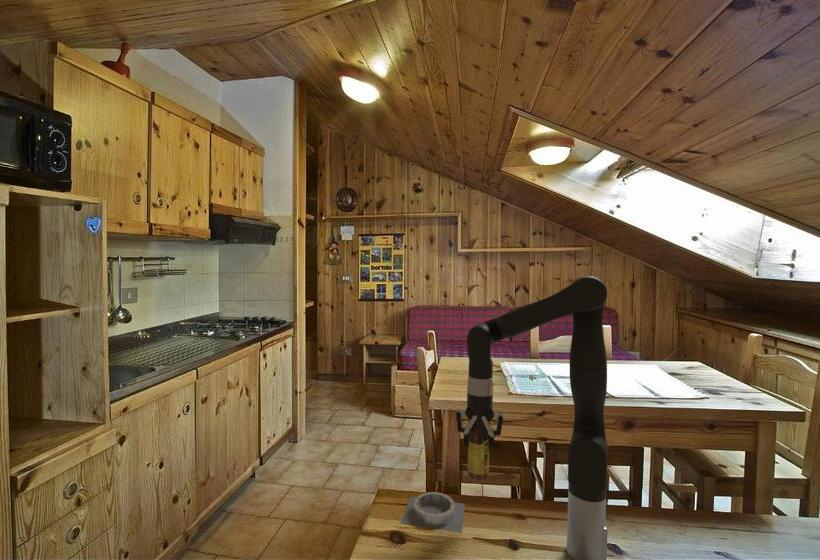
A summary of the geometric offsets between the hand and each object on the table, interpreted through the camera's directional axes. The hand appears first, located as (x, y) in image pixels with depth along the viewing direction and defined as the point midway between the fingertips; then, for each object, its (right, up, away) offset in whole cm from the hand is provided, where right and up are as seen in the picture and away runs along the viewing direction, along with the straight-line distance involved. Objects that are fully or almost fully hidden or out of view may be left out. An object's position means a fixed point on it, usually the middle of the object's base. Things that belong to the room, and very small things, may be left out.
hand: (478, 446), depth 116 cm
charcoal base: (-13, -23, +4) cm, 27 cm away
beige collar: (-13, -22, +4) cm, 26 cm away
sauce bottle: (0, -9, 0) cm, 9 cm away
